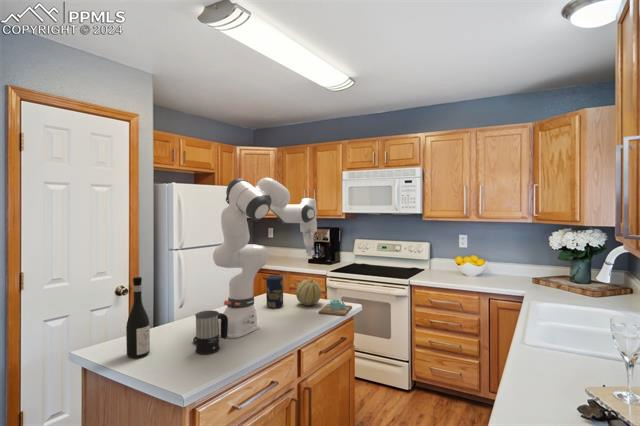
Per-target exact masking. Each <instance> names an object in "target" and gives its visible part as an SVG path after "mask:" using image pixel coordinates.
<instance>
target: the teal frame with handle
mask: <svg viewBox="0 0 640 426" xmlns="http://www.w3.org/2000/svg"><path fill="white" fill-rule="evenodd" d="M334 301H337V302H334ZM329 304H330V308H331V310H341V309H345V305H346V303H344V304H342V301H341V299H330V301H329Z"/></svg>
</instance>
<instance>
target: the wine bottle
mask: <svg viewBox="0 0 640 426" xmlns="http://www.w3.org/2000/svg"><path fill="white" fill-rule="evenodd" d="M142 280H143V278H142V277H141V276H137V277H133V278H132V282H133V304H132V307H131V310H130V313H129V316H128V318H127V322H126V327H125V328H126V329H125V331H126V333H125V334H126V335H125V337H126V339H125V340H126V355H127V357H128V358H131V359H140V358H143V357H145V356H147V355H149V353H150V351H151V341H150V339H151V337H150V336H151V335H150V334H151V333H150V331H151V330H150V329H151V328H150V327H151V326H150V319H149V316H148V314H147V312H146V310H145V307H144V305H143V299H142V298H143V297H142Z"/></svg>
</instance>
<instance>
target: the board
mask: <svg viewBox="0 0 640 426" xmlns="http://www.w3.org/2000/svg"><path fill="white" fill-rule="evenodd" d="M334 302H337V301H334ZM341 304H345V301H341ZM352 309H353V305H348V304H347V305H346V304H345V309H341V310H331V308H330V303H327V304H326V305H325V306H323V307H322V308H321V309H320V310H319V311H318V314H320V315H329V316H336V317H337V316H338V317H339V316H340V317H346V315H347V314H348V313H349V312H350V311H351V310H352Z"/></svg>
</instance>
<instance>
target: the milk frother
mask: <svg viewBox="0 0 640 426" xmlns="http://www.w3.org/2000/svg"><path fill="white" fill-rule="evenodd" d="M194 316H195V336H194V338H193V339H192V342H193V344H195V353H196V354H197V355H203V356H204V355H211V354H215V353H218V351H220V349H221V347H220V338H221V339H223V340H226V339H228V338H227V332H228V318H227V316H226V315H225V314H223V312H219V311H217V310H202V311H198V312H196V313H195V314H194ZM219 319H221V337H219V323H218V322H219Z"/></svg>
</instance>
